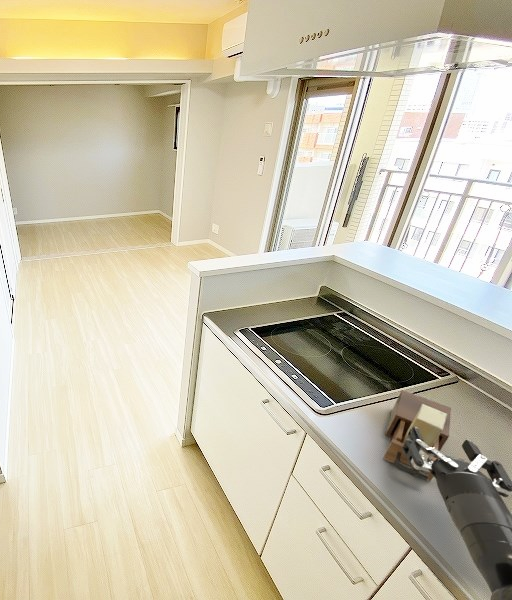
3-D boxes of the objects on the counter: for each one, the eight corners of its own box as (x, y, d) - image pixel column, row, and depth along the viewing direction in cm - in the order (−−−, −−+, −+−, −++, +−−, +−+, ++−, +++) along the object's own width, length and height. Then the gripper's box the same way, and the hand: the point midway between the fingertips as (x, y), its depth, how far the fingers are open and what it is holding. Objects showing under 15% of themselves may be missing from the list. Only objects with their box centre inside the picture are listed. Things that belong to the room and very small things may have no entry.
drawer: (428, 494, 70) (440, 477, 67) (380, 470, 75) (389, 453, 72) (433, 450, 79) (444, 433, 76) (390, 431, 84) (398, 415, 81)
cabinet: (435, 458, 78) (449, 436, 74) (385, 435, 84) (395, 414, 80) (438, 428, 85) (451, 407, 82) (391, 410, 91) (402, 389, 88)
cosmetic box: (402, 438, 81) (422, 402, 75) (425, 449, 78) (448, 412, 72) (395, 454, 77) (416, 417, 71) (419, 466, 74) (443, 429, 68)
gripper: (550, 514, 51) (494, 434, 64) (432, 481, 56) (403, 413, 69) (523, 540, 54) (475, 459, 67) (415, 507, 60) (390, 437, 73)
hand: (438, 436), depth 68 cm, fingers open, 8 cm apart
